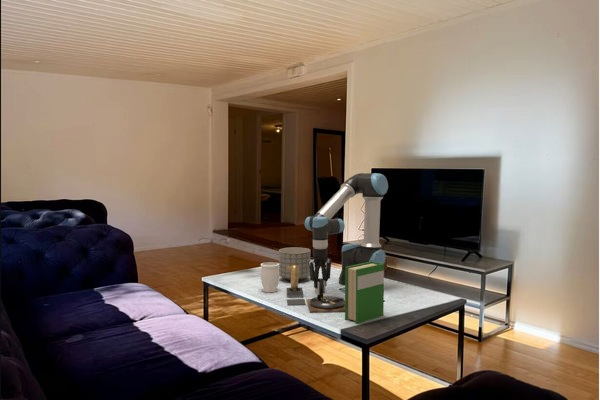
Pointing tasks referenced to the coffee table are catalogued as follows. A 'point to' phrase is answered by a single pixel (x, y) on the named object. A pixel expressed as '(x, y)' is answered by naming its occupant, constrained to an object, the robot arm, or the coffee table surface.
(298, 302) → the pad
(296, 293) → the eye block
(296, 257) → the planter
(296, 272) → the hook peg
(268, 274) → the jar
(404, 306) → the coffee table surface
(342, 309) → the wheel base
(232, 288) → the coffee table surface
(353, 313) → the hardback book
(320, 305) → the handwheel
